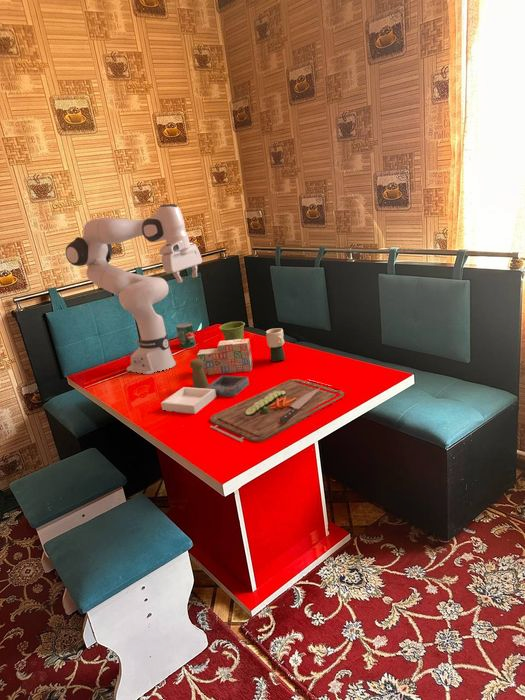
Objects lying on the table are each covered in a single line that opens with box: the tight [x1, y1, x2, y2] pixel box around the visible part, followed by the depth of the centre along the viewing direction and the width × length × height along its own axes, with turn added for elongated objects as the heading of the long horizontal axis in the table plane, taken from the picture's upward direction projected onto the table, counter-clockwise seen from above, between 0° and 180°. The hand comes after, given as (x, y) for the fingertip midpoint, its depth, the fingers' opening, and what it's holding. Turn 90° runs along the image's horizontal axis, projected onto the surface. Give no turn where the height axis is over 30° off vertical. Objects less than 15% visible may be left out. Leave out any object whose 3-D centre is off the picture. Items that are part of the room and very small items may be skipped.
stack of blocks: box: [196, 338, 254, 376], centre depth 208 cm, size 21×6×12 cm, turn 84°
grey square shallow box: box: [205, 375, 250, 398], centre depth 190 cm, size 12×12×3 cm
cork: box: [189, 358, 209, 389], centre depth 195 cm, size 6×6×11 cm
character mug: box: [265, 327, 286, 362], centre depth 212 cm, size 11×7×13 cm, turn 27°
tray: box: [160, 386, 217, 415], centre depth 182 cm, size 14×14×3 cm
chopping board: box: [209, 378, 345, 443], centre depth 169 cm, size 45×27×3 cm, turn 131°
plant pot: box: [219, 321, 246, 341], centre depth 236 cm, size 12×12×11 cm
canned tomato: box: [175, 322, 197, 350], centre depth 250 cm, size 8×8×11 cm
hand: (188, 279), depth 203 cm, fingers open, 8 cm apart
